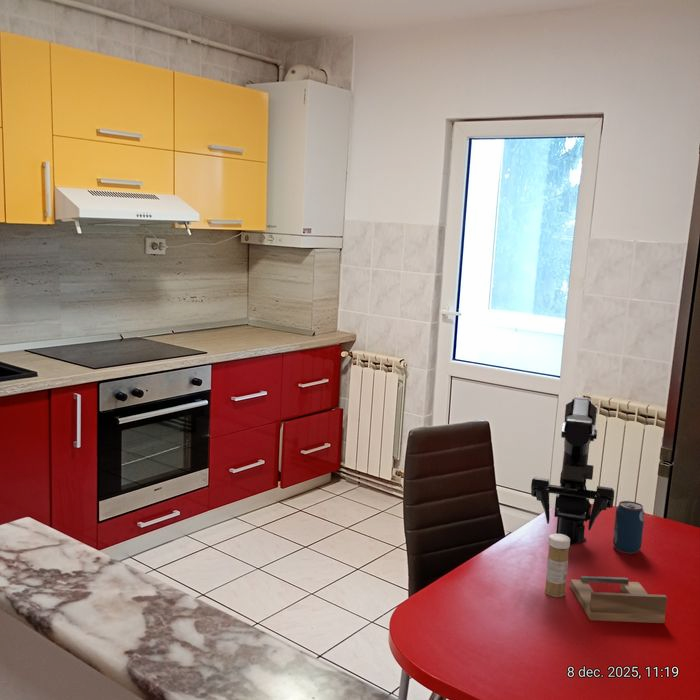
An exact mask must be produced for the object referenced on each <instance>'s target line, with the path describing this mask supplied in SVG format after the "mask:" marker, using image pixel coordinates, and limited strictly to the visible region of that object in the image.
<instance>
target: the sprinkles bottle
mask: <svg viewBox="0 0 700 700" xmlns="http://www.w3.org/2000/svg"><path fill="white" fill-rule="evenodd" d="M569 550H570V538H569V537H568V536H566V535H563V534H556V533H552V534H550V535H549V536H548V555H547V556H548V557H547V565H546V575H545V588H544V593H546V595H548V596H550V597H553V598H562V597H564V596H566V582H567V577H568V576H567V575H568V566H569V565H568V564H569Z"/></svg>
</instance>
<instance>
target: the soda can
mask: <svg viewBox="0 0 700 700" xmlns="http://www.w3.org/2000/svg"><path fill="white" fill-rule="evenodd" d="M645 514H646V513H645V511H644V506H643V504H640V503H638V502H636V501H631V500H624V501H623V500H622V501H619V503H618V505H617V507H616V509H615V516H614V517H615V518H614V526H613V537H612V544H613V546H614V548H615V550H617V551H618V552H621V553H624V554H629V555H632V554H637V553H638V552H639V551H640V550H641V548H642V543H643V532H644V523H645Z"/></svg>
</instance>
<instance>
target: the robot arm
mask: <svg viewBox="0 0 700 700" xmlns="http://www.w3.org/2000/svg"><path fill="white" fill-rule="evenodd" d="M571 400H572V401H570V402H568V403H566V404H565V411H564V421H563V422H562V427H561V433H560V434H561V435H560V437H561V438H563V439H564V442H563V446H564V448H563V449H564V450H563V459H562V467H561V472H560V479H559V485H554V484H550V479H549V478H543V477H536V476H535V477H533V478H532V479H531V483H530V484H531V486H530V491H531V494H530V495H531V496H532V497H533V498H536V501H539V502H540V503H541V506H542V508H543V510H544V511H543V512H544V516H545V519H546V524H550V518H551V517H550V494H555V503H554V518H556V520H557V522H556V531H555V534H563V535H566V536H568V537H569V538H570V545H575V544H579V543H582V542H585V541H587V538H586V537H585V528H586V525H585V522H587V523H588V529H587V530H588V531H591V529H592V527H593V525H594V523H595V521H596V519H597V518H598V516H599V515H600V513H601V512H602V511H607V509H611V508H613V506H614V499H615V489H614V488H613V487H608V486H607V487H606V486H601V485H596V490H591V489H587V480H590V481H591V480H593V478H594V477H593V476H594V465H591V464H588V463H589V462H588V460H589V454H590V453H589V452H590V450H589V449H590V444H591V442H594V441H595V440H597V436H598V430H597V429H596V427H595V426H596V422H597V414H598V413H597V412H598V411H597V410H598V407H596V406H595V405H594V404H593V403H592V399H590V398H588V397H580V396H575V397H572V399H571ZM590 500H593V503H592V504H591V503H590Z"/></svg>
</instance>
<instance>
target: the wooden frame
mask: <svg viewBox="0 0 700 700" xmlns="http://www.w3.org/2000/svg"><path fill="white" fill-rule="evenodd" d="M589 583H594V584H595V583H597V584H599V583H600V584H620V588H619V589H620V590H621V592H603V591H602V592H601V591H600V592H598V591H597V592H596V591H594V590H593V588H592V587H591V586H590V585H591V584H589ZM569 587H570V589H571V590H572V592H573V594H574V595H575V597H576V599H577V601H578V602H579V604H580V606H581V608H582V609H583V611H584V613H585V614H586V615H587V617H588V619H589V620H590V621H601V622H625V623H626V622H628V623H629V622H630V623H632V622H633V623H653V624H664V623H665V617H666V610H667V602H668V597H667V595H666V594H648V593H649V592H648V591H646V589H645V588H644V586H642V584H641V583H640V582H639V581H630V580H629V578H628V577H617V576H594V575H593V576H592V575H591V576H590V575H580V579H570V584H569Z"/></svg>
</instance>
